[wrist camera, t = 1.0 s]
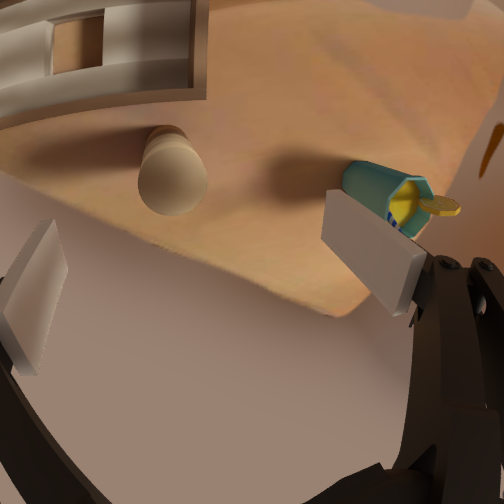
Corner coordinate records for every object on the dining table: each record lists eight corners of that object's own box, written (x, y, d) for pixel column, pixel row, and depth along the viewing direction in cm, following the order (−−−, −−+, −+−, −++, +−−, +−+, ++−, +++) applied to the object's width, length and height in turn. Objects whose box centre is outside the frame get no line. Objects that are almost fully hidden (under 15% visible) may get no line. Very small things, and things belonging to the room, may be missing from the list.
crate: (-13, 16, 17) (-48, 5, 10) (199, -23, 23) (212, -52, 16) (-14, 131, 23) (-51, 146, 17) (195, 97, 30) (206, 99, 23)
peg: (144, 126, 30) (135, 152, 18) (187, 123, 31) (207, 146, 19) (146, 168, 32) (141, 219, 20) (188, 164, 33) (208, 212, 21)
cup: (315, 229, 42) (381, 295, 29) (298, 177, 37) (371, 231, 25) (396, 186, 42) (473, 231, 29) (387, 136, 38) (474, 170, 25)
